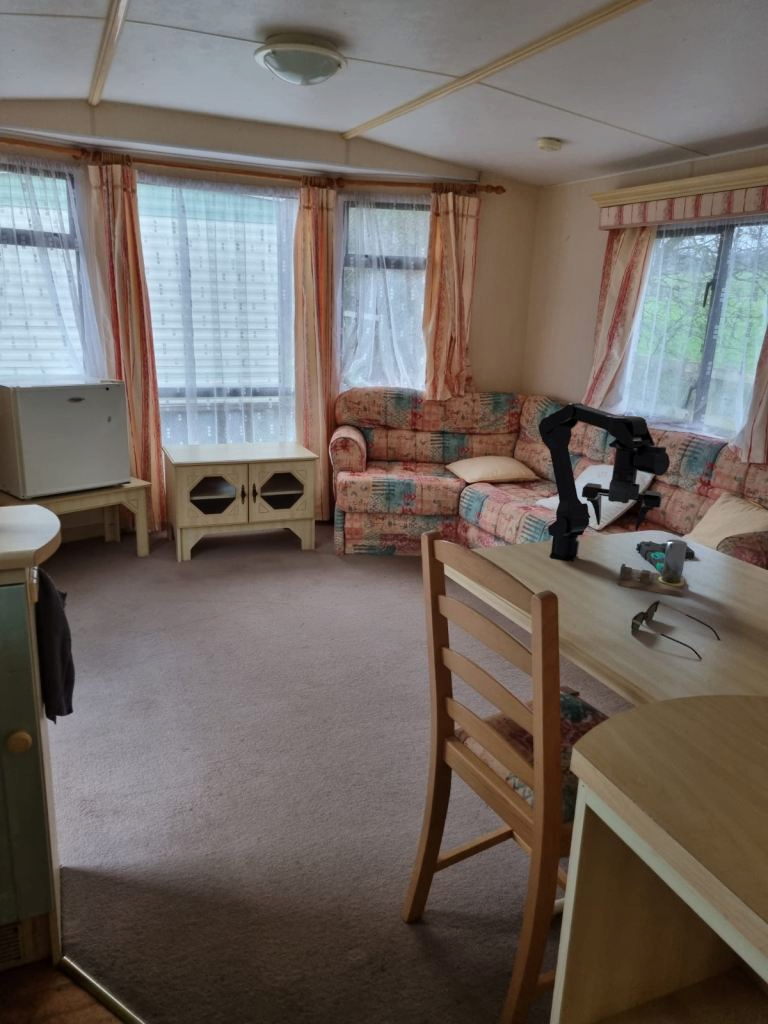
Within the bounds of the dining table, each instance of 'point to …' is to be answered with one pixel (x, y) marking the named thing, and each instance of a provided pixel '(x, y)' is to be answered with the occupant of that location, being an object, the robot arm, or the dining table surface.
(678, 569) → the silver metal cylinder
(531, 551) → the dining table surface
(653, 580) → the door lock
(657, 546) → the handgun
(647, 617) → the sunglasses
